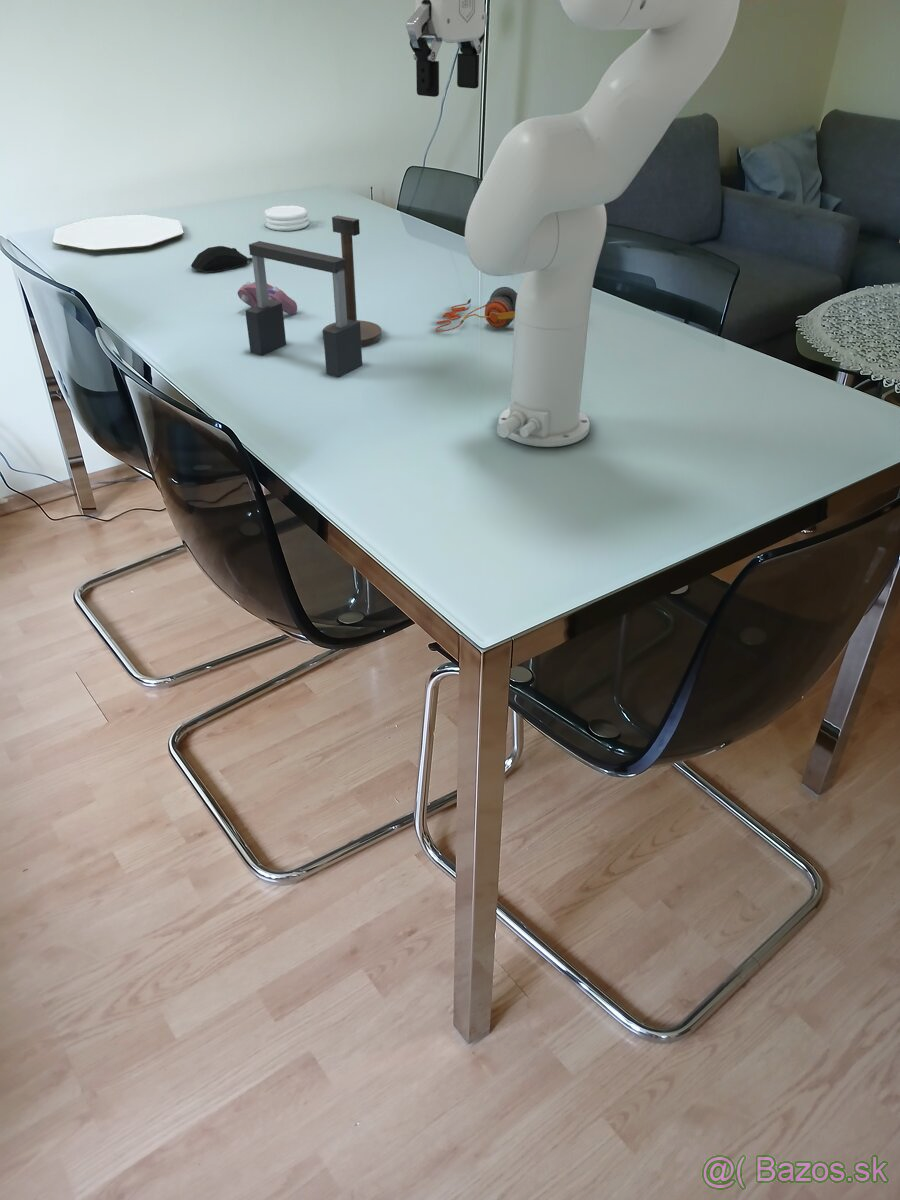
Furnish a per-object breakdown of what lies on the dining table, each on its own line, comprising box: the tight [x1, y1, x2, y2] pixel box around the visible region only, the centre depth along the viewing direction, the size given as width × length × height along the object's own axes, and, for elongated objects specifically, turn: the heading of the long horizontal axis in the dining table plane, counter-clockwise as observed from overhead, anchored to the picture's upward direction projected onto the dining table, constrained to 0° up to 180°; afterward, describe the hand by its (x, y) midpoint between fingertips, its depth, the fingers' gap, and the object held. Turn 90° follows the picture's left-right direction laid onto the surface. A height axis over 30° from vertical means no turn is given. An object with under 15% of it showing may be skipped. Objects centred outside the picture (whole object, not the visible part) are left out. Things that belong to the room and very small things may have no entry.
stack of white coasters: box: [264, 205, 309, 232], centre depth 213 cm, size 10×10×4 cm
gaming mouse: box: [190, 245, 253, 273], centre depth 187 cm, size 6×15×4 cm, turn 127°
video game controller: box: [237, 281, 298, 315], centre depth 163 cm, size 10×5×7 cm, turn 62°
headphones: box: [435, 286, 518, 333], centre depth 160 cm, size 17×5×20 cm
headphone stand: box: [321, 215, 383, 348], centre depth 149 cm, size 10×10×19 cm
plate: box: [52, 214, 185, 252], centre depth 204 cm, size 28×28×2 cm
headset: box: [244, 240, 363, 378], centre depth 142 cm, size 6×18×17 cm, turn 57°
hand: (448, 91), depth 123 cm, fingers open, 9 cm apart
